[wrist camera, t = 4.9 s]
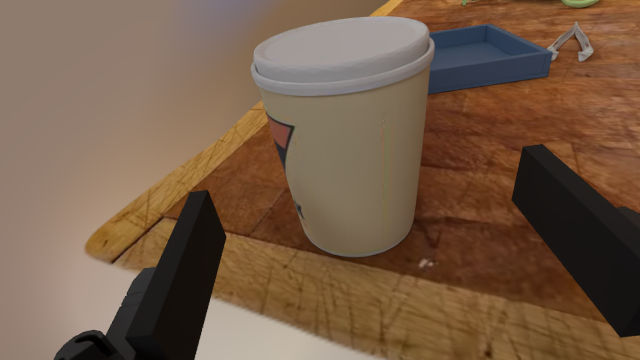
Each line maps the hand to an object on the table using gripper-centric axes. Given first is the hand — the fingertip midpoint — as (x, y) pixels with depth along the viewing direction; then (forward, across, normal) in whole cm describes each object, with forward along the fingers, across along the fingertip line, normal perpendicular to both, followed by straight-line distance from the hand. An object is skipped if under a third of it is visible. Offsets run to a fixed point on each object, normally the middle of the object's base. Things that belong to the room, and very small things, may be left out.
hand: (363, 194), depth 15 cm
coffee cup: (+7, 0, -7) cm, 10 cm away
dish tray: (+34, +16, -7) cm, 38 cm away
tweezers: (+37, +33, -7) cm, 50 cm away
